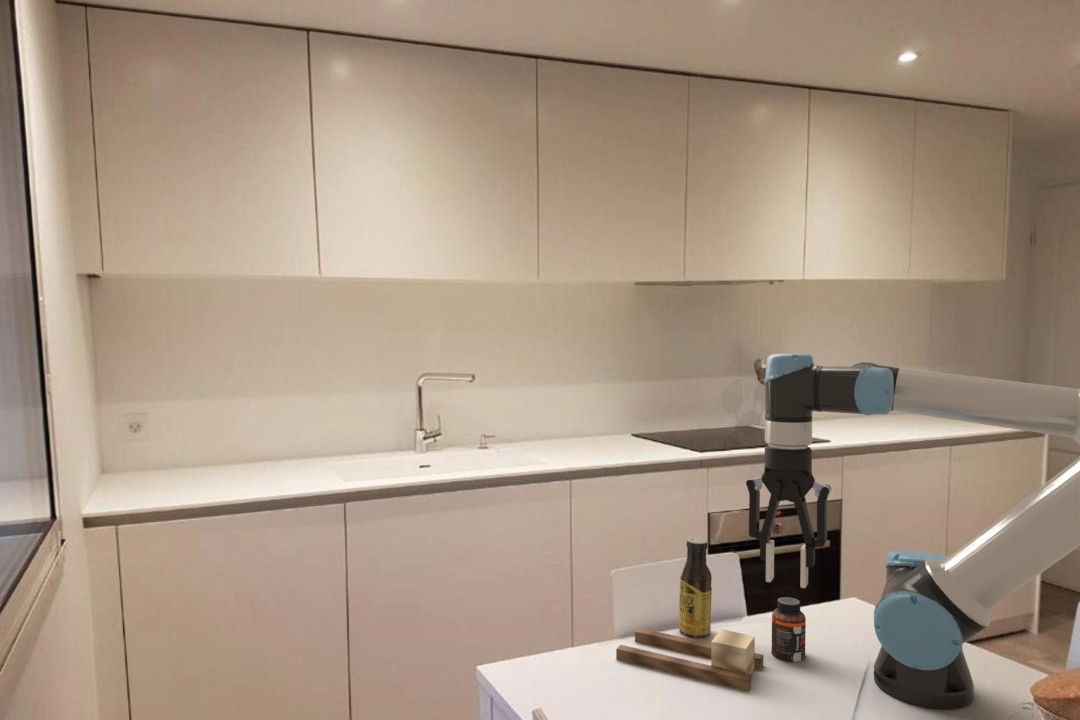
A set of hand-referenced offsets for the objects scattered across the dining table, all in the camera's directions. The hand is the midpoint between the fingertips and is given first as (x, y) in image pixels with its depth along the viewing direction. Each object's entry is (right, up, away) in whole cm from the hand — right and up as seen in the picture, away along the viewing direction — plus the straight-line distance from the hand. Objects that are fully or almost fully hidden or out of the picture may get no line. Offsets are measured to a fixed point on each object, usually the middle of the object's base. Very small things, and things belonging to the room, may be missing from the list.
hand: (786, 582), depth 122 cm
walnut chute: (-15, -18, +9) cm, 25 cm away
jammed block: (-8, -17, +5) cm, 20 cm away
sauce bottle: (-11, -18, +22) cm, 31 cm away
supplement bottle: (+4, -19, +12) cm, 23 cm away
